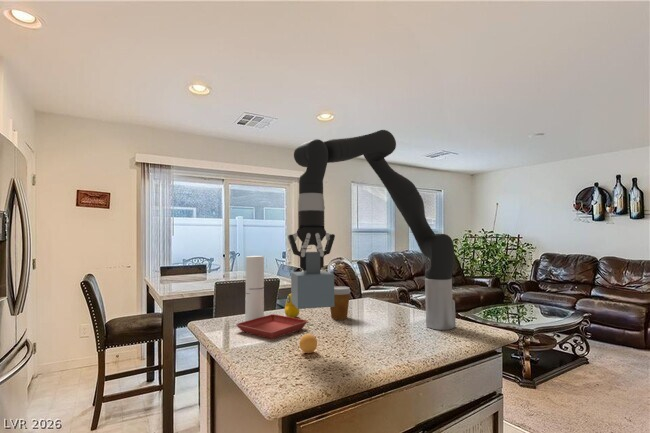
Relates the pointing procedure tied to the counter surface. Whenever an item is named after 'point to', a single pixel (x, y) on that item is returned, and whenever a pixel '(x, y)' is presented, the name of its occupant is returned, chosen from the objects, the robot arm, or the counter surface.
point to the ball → (308, 343)
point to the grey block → (312, 285)
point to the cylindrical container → (254, 287)
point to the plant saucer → (272, 325)
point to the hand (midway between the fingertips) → (311, 269)
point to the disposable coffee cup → (340, 302)
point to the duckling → (291, 308)
